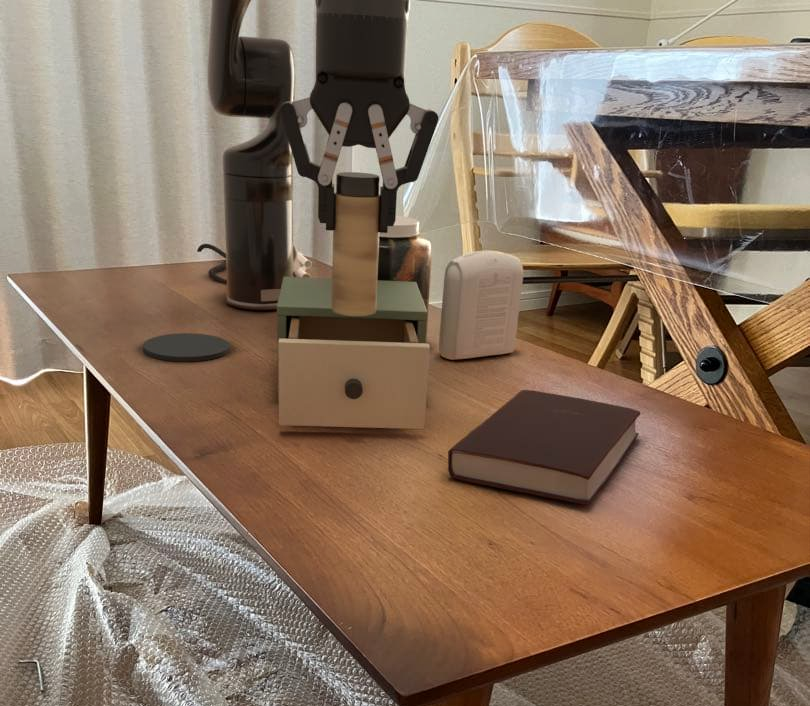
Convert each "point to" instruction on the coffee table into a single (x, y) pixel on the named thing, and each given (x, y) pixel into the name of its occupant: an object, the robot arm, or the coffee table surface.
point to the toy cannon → (296, 265)
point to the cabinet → (317, 301)
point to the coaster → (186, 347)
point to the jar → (405, 256)
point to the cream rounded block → (480, 305)
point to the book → (546, 446)
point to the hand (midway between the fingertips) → (356, 229)
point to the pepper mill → (355, 244)
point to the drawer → (352, 373)
